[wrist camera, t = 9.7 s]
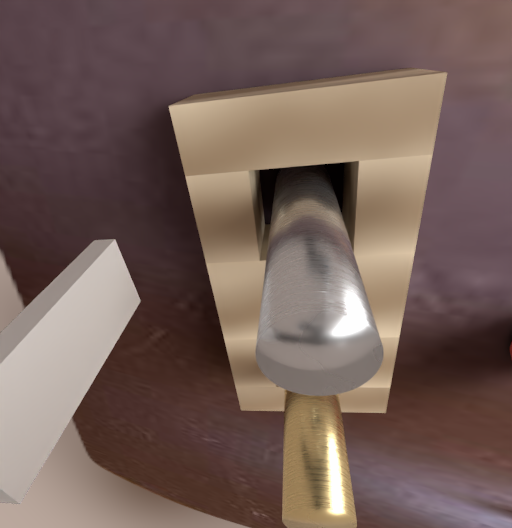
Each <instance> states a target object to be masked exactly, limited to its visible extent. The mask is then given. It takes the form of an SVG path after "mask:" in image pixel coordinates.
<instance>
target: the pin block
mask: <svg viewBox="0 0 512 528" xmlns="http://www.w3.org/2000/svg"><path fill="white" fill-rule="evenodd" d="M446 77H447V72H441V71H433V70H425V69H417V68H405V69H397V70H389V71H381V72H373V73H365V74H357V75H349V76H340V77H332V78H324V79H316V80H308V81H300V82H292V83H284V84H276V85H268V86H260V87H252V88H244V89H236V90H228V91H220V92H212V93H204V94H196V95H193V96H190V97H188V98H186V99H184V100H181V101H179V102H177V103H174V104H172V105H170V106H169V110H170V115H171V119H172V123H173V127H174V131H175V135H176V140H177V144H178V148H179V152H180V156H181V161H182V165H183V169H184V173H185V177H186V181H187V186H188V190H189V194H190V198H191V202H192V207H193V211H194V215H195V219H196V223H197V228H198V232H199V236H200V240H201V244H202V248H203V253H204V257H205V261H206V265H207V269H208V274H209V278H210V282H211V286H212V290H213V294H214V299H215V303H216V307H217V311H218V315H219V320H220V324H221V328H222V332H223V336H224V340H225V345H226V349H227V353H228V357H229V361H230V366H231V370H232V374H233V378H234V382H235V386H236V391H237V395H238V399H239V403H240V407H241V410H250V411H284V398H285V389H283V388H281V387H279V386H278V385H276V384H274V383H273V382H271V381H270V380H269V379H268V378H267V377H266V376H265V375H264V374H263V373H262V371H261V370H260V368H259V366H258V364H257V361H256V355H255V351H256V342H257V334H258V325H259V317H260V308H261V300H262V292H263V283H264V275H265V266H266V258H267V250H268V241H269V233H270V224H268V225H265V219H264V210H263V201H262V192H261V183H260V174H259V170H262V169H274V168H285V167H296V166H308V165H319V164H330V163H342V162H344V180H343V209H342V217H343V221H344V224H345V227H346V230H347V233H348V237H349V240H350V243H351V246H352V249H353V253H354V256H355V259H356V262H357V265H358V269H359V272H360V275H361V278H362V281H363V284H364V288H365V291H366V294H367V297H368V300H369V304H370V307H371V310H372V313H373V316H374V320H375V323H376V326H377V329H378V332H379V336H380V339H381V342H382V345H383V351H384V355H383V361H382V364H381V366H380V368H379V370H378V371H377V373H376V374H375V375H374V376H373V377H372V378H371V379H370V380H369V381H367V382H366V383H365V384H363V385H361V386H360V387H358V388H356V389H353V390H351V391H348V392H345V393H341V394H339V400H340V407H341V412H364V413H386V408H387V402H388V397H389V391H390V386H391V380H392V375H393V369H394V364H395V358H396V353H397V347H398V342H399V336H400V331H401V325H402V320H403V314H404V309H405V303H406V298H407V292H408V287H409V281H410V276H411V270H412V265H413V259H414V254H415V248H416V243H417V237H418V231H419V226H420V220H421V215H422V209H423V204H424V198H425V193H426V187H427V182H428V176H429V171H430V165H431V160H432V154H433V149H434V143H435V138H436V132H437V127H438V121H439V116H440V110H441V105H442V99H443V94H444V88H445V83H446Z"/></svg>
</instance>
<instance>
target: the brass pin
mask: <svg viewBox="0 0 512 528" xmlns="http://www.w3.org/2000/svg"><path fill="white" fill-rule="evenodd" d="M282 521H283V523H284V524H285V525H286V526H287V527H288V528H356V527H357V521H356V514H355V507H354V499H353V492H352V485H351V478H350V471H349V464H348V457H347V450H346V443H345V436H344V428H343V421H342V414H341V407H340V400H339V394H336V395H328V396H310V395H303V394H298V393H294V392H291V391H288V390H286V389H285V398H284V455H283V512H282Z"/></svg>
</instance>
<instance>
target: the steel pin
mask: <svg viewBox="0 0 512 528" xmlns="http://www.w3.org/2000/svg"><path fill="white" fill-rule="evenodd" d="M255 355H256V361H257V364H258V366H259V368H260V370H261V371H262V373H263V374H264V375H265V376H266V377H267V378H268V379H269V380H270V381H271V382H273V383H274V384H276V385H278V386H279V387H281V388H283V389H286V390H288V391H291V392H294V393H298V394H303V395H310V396H328V395H336V394H341V393H345V392H348V391H351V390H353V389H356V388H358V387H360V386H361V385H363V384H365V383H366V382H367V381H369V380H370V379H371V378H372V377H373V376H374V375H375V374H376V373H377V371H378V370H379V368H380V366H381V364H382V361H383V355H384V351H383V345H382V342H381V339H380V336H379V332H378V329H377V326H376V323H375V320H374V316H373V313H372V310H371V307H370V304H369V300H368V297H367V294H366V291H365V288H364V284H363V281H362V278H361V275H360V272H359V269H358V265H357V262H356V259H355V256H354V253H353V249H352V246H351V243H350V240H349V237H348V233H347V230H346V227H345V224H344V221H343V217H342V214H341V211H340V208H339V205H338V202H337V198H336V195H335V192H334V189H333V186H332V182H331V179H330V176H329V173H328V171H327V169H326V168H325V166H324V165H323V164H319V165H308V166H296V167H285V168H281V169H280V171H279V173H278V175H277V177H276V182H275V191H274V199H273V207H272V216H271V224H270V233H269V241H268V250H267V258H266V266H265V275H264V283H263V292H262V300H261V308H260V317H259V325H258V334H257V342H256V351H255Z"/></svg>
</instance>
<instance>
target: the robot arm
mask: <svg viewBox="0 0 512 528" xmlns="http://www.w3.org/2000/svg"><path fill="white" fill-rule="evenodd" d="M139 303H140V298H139V296H138V293H137V291H136V288H135V286H134V284H133V281H132V279H131V276H130V274H129V272H128V269H127V267H126V264H125V262H124V260H123V257H122V255H121V252H120V250H119V248H118V245H117V243H116V240H115V239H109V240H94V241H93V242H92V243H91V244H90V245H89V246H88V247H87V248H86V249H85V250H84V251H83V252H82V253H81V254H80V255H79V256H78V257H77V258H76V259H75V260H74V261H73V262H72V263H71V264H70V265H69V266H68V267H67V268H66V269H65V270H64V271H63V272H62V273H61V274H60V275H58V276H57V277H56V278H55V279H54V280H53V281H52V282H51V283H50V284H49V285H48V286H47V287H46V288H45V289H44V290H43V291H42V292H41V293H40V294H39V295H38V296H37V297H36V298H35V299H34V300H33V301H32V302H31V303H30V304H29V305H28V306H27V307H26V308H25V309H24V310H23V311H22V312H21V313H20V314H19V315H18V316H17V317H16V318H15V319H14V320H13V321H12V322H11V323H10V324H9V325H8V326H7V327H6V328H5V329H4V330H2V331H1V332H0V503H12V504H13V503H14V504H20V503H21V502H22V500H23V498H24V497H25V495H26V493H27V492H28V490H29V488H30V487H31V485H32V483H33V481H34V480H35V478H36V477H37V475H38V473H39V471H40V470H41V468H42V466H43V465H44V463H45V461H46V459H47V458H48V456H49V455H50V453H51V451H52V450H53V448H54V446H55V444H56V443H57V441H58V439H59V437H60V436H61V434H62V433H63V431H64V429H65V427H66V426H67V424H68V423H69V421H70V419H71V418H72V416H73V414H74V413H75V411H76V409H77V408H78V406H79V404H80V402H81V401H82V399H83V397H84V396H85V394H86V392H87V391H88V389H89V387H90V386H91V384H92V382H93V381H94V379H95V377H96V376H97V374H98V372H99V370H100V369H101V367H102V365H103V364H104V362H105V360H106V359H107V357H108V355H109V354H110V352H111V350H112V349H113V347H114V345H115V344H116V342H117V340H118V339H119V337H120V335H121V333H122V332H123V330H124V328H125V327H126V325H127V323H128V322H129V320H130V318H131V317H132V315H133V313H134V312H135V310H136V308H137V307H138V305H139Z"/></svg>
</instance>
